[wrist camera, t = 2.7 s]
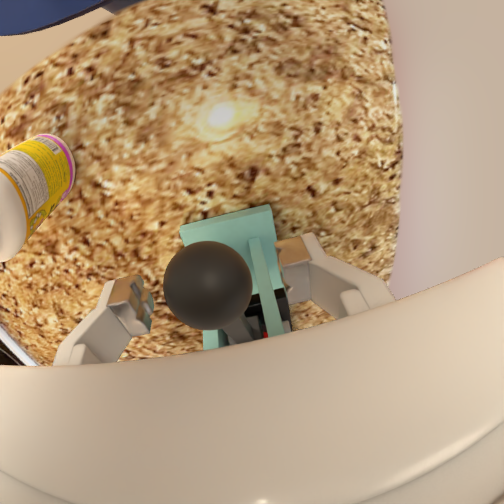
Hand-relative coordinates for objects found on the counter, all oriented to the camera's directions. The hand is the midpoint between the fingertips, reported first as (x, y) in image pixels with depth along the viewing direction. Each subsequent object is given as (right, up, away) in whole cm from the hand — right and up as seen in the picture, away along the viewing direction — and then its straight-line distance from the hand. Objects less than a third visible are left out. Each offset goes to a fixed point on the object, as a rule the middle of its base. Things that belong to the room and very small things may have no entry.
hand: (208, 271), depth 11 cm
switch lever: (0, -1, +4) cm, 5 cm away
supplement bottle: (-16, +8, +8) cm, 20 cm away
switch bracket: (0, 0, +16) cm, 16 cm away
